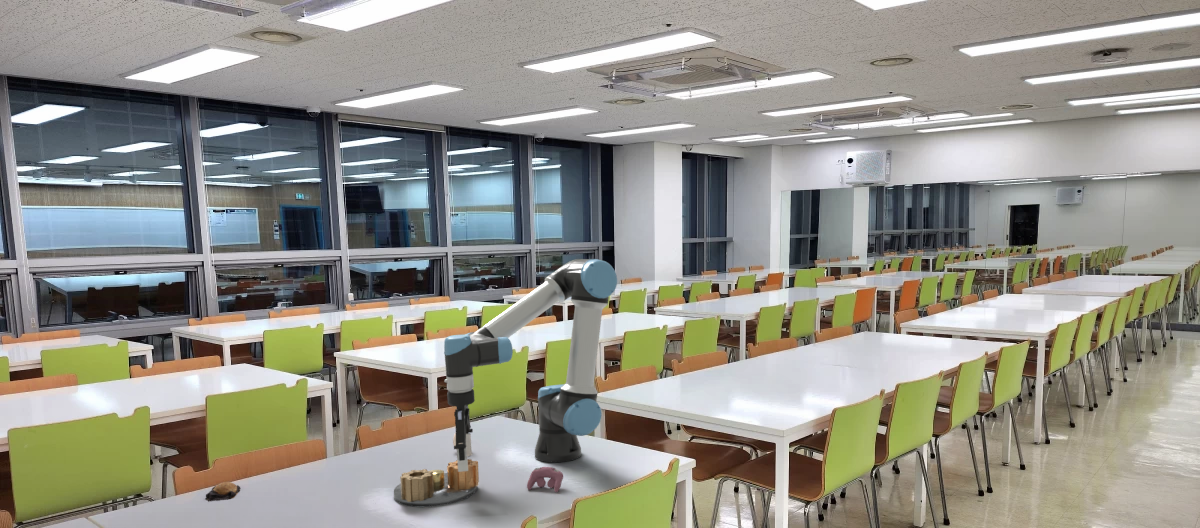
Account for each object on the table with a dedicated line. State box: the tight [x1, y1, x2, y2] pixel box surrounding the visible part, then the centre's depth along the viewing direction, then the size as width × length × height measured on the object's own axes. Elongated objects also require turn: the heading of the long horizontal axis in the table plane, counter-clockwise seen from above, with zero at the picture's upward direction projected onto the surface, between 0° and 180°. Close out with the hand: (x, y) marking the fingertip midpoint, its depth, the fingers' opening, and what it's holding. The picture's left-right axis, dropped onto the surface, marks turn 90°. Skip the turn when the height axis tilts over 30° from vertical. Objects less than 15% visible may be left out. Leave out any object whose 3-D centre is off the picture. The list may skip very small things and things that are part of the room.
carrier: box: [393, 468, 478, 508], centre depth 207 cm, size 23×23×8 cm
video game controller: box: [526, 466, 564, 493], centre depth 207 cm, size 10×5×7 cm, turn 72°
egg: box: [452, 431, 462, 451], centre depth 245 cm, size 6×6×8 cm
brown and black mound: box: [205, 481, 241, 502], centre depth 210 cm, size 11×8×4 cm
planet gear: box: [446, 458, 480, 490], centre depth 208 cm, size 8×8×6 cm
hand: (465, 463), depth 208 cm, fingers open, 13 cm apart
